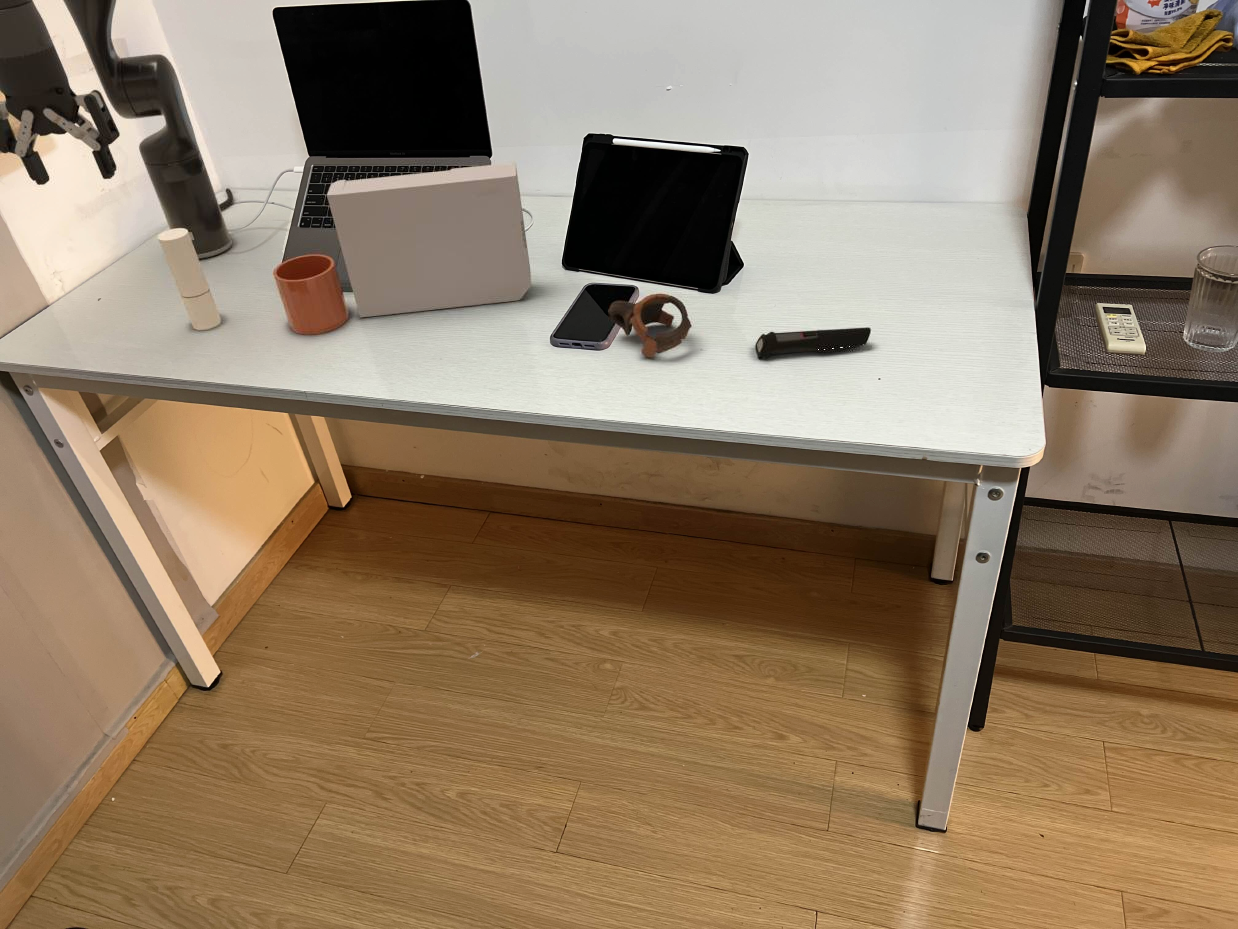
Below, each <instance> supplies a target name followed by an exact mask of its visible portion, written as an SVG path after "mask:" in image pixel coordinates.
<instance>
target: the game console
mask: <svg viewBox="0 0 1238 929" xmlns="http://www.w3.org/2000/svg"><path fill="white" fill-rule="evenodd" d="M326 197H327V201H328V205H329V209H330V213H331V215H332V220H333V223H334V226H335V230H336V234H337V238H338V243H339V245H340V249H341V253H342V256H343V259H344V264H345V267H346V271H347V275H348V278H349V282H350V287H351V289H352V293H353V296H354V300H355V305H356V308H357V311H358V315H359V318H369V317H379V316H388V315H395V314H397V315H398V314H405V313H416V312H422V311H423V312H425V311H433V310H443V309H453V308H461V307H469V306H479V305H490V304H497V303H498V304H499V303H508V302H516V301H520V300H521V299H522V298H523V297H524V296H525V294H526V293H527V291H529V289H530V288H531V286H532V275H531V264H530V257H529V250H528V243H527V235H526V228H525V220H524V212H523V206H522V198H521V192H520V183H519V177H518V169H517V162H516V161H515V162H509V163H498V164H487V165H477V166H467V167H455V168H451V169H449V170H441V171H439V170H438V171H432V172H422V173H421V172H420V173H411V174H410V173H409V174H401V175H392V176H382V177H371V178H362V179H353V180H346V179H340V180H337V181H335V182H332V183H330V186H329V189H328V191H327V193H326Z"/></svg>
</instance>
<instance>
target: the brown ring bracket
mask: <svg viewBox="0 0 1238 929" xmlns="http://www.w3.org/2000/svg"><path fill="white" fill-rule="evenodd" d="M665 304H672V305H673V306H675V307H676V309H678V310H679V312H680V315H681V321H680V324H679V325H678V326H677V327H676V328H675V329H673V330H671V331H669V332H655V333H654V334H655V337H653V336H651V335H650V334H649V328H648V327H647V326H648V325H650V324H661V325H664V326H667V327H671V326H672V325H673V321H674V319H675V316H674V315H673V314H670V313H668V312H667V311H665V310H663V308H664V306H665ZM607 313H608V315H609V317H610V319H611V320H612V322H614V324H615V325H617V326H618V327H620V328H621V329H622V330H623V332H624V333H625V336H626V337H629V336H630V334H631V332H632V330H634V332H635V333H636V336H638V338H639V339H640V340H641V341H642V342H643V347H642V349H641V355H642V356H645V357H647V358H648V359H649V358H650V359H652V358H653V357H654V356H656V354H661V353H662V354H663V353H665V352H667V351H669V350H672V349H674V348H676V347H677V346H679V345H681V344H682V341H683V340H685V339H686V337H687V336H688V333H689V331H690V329H691V328H692V326H693V325H692V322H691V321H690V319H689V314H688V310H687V308H686V306H685V304H684V303H683V302H682V301H681V300H680V299H679V298H677V297H675V296H673V295H670V294H666V293H653V294H649V295H647V296H645V297H643V298H642V299H641V300H639V301H638V302H635V303H634V302H629V301H628V300H627V301H626V300H616V301H613V302H612V303H611V304H610V306H609V308H608V310H607Z"/></svg>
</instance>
